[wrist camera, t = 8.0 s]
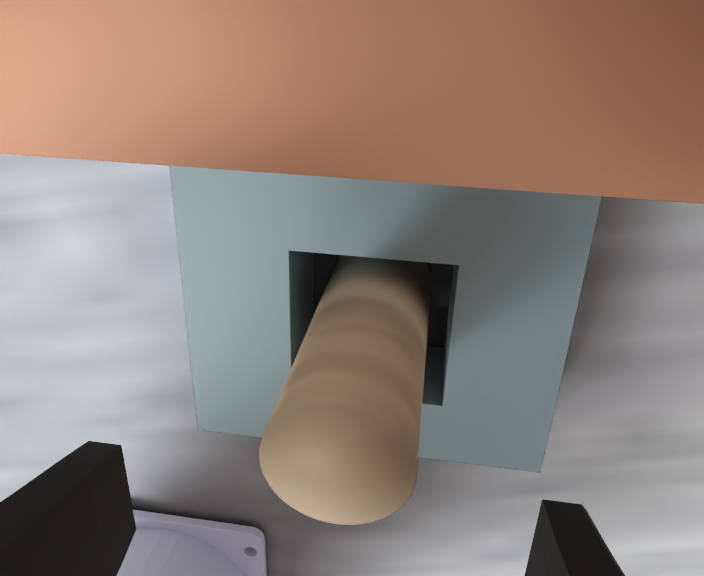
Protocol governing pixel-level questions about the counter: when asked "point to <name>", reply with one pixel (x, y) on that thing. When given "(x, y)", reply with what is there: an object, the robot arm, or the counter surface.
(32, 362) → the counter surface
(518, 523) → the counter surface
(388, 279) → the birch peg
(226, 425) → the socket block
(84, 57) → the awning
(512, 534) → the counter surface
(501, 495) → the counter surface
